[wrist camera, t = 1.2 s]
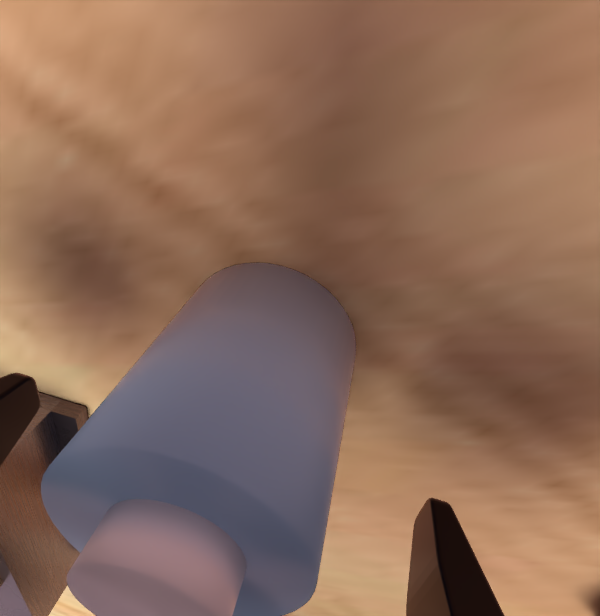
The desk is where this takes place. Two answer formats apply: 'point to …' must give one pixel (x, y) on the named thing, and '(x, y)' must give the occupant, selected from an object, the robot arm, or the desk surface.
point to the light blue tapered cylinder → (212, 456)
